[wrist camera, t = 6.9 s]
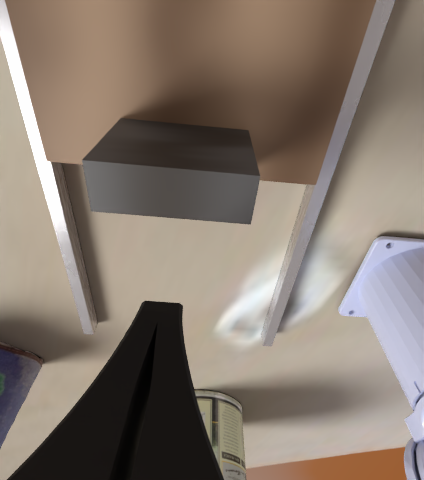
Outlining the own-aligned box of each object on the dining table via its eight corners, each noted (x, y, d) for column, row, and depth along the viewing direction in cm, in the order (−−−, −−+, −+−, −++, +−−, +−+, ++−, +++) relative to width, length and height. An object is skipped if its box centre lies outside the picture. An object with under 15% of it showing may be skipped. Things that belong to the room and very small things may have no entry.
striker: (359, -8, 13) (471, -25, 7) (306, 169, 17) (348, 243, 12) (20, -48, 12) (-149, -99, 7) (62, 147, 17) (-15, 213, 11)
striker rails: (386, -13, 13) (400, -15, 12) (269, 334, 28) (271, 346, 27) (-9, -59, 12) (-28, -65, 11) (88, 322, 27) (84, 333, 26)
